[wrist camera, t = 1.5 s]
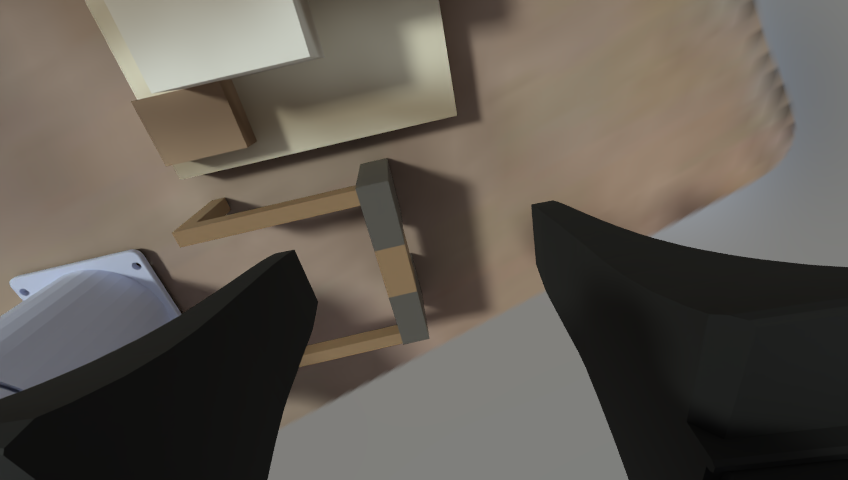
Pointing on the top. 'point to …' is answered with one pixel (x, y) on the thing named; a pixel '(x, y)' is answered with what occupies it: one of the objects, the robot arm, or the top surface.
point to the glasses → (387, 242)
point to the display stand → (275, 73)
